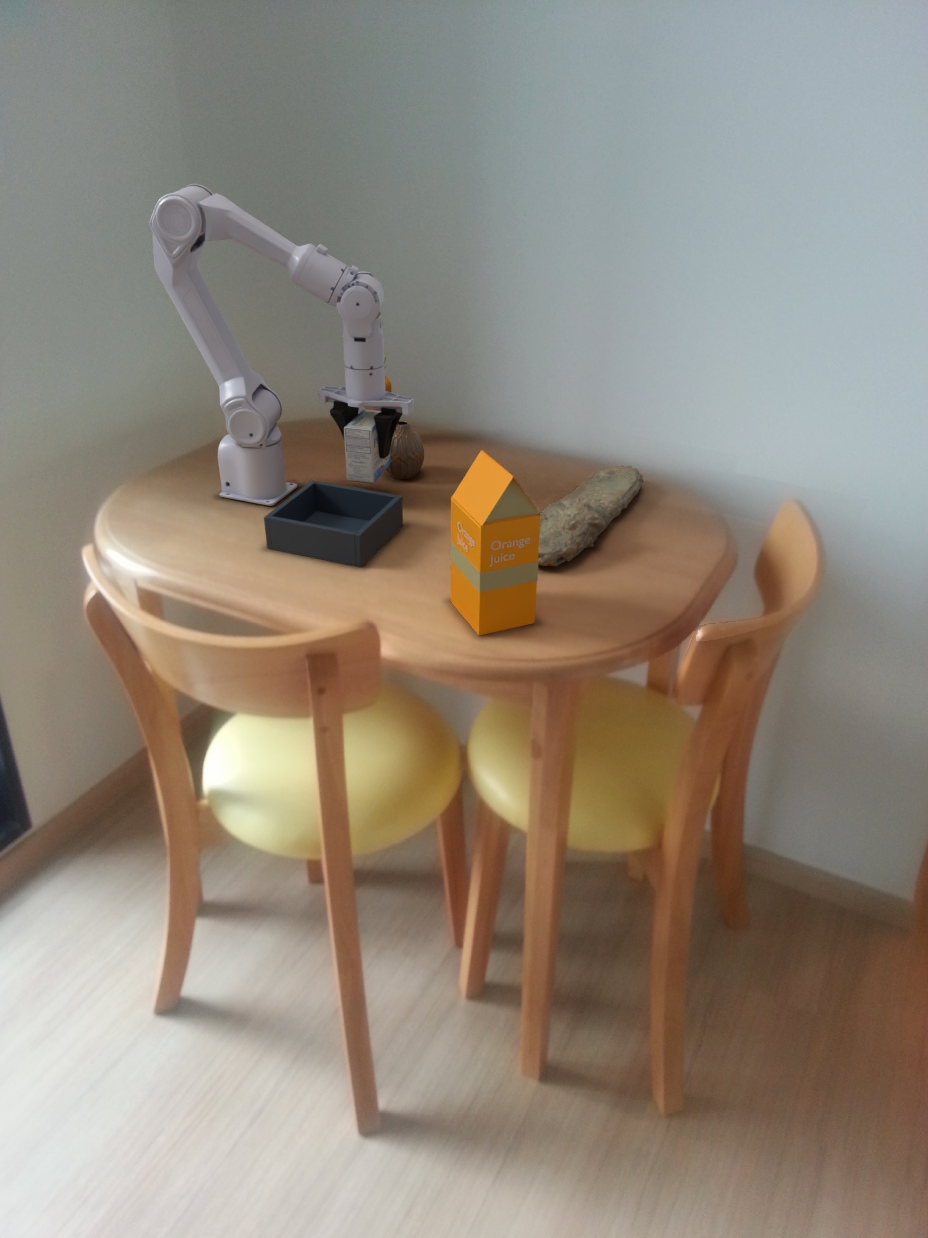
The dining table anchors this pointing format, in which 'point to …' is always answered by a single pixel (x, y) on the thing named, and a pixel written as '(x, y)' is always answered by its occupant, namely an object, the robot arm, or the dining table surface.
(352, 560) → the basket
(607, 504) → the elongated rock
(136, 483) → the dining table surface
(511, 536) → the orange juice
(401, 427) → the vase
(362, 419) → the medicine box
